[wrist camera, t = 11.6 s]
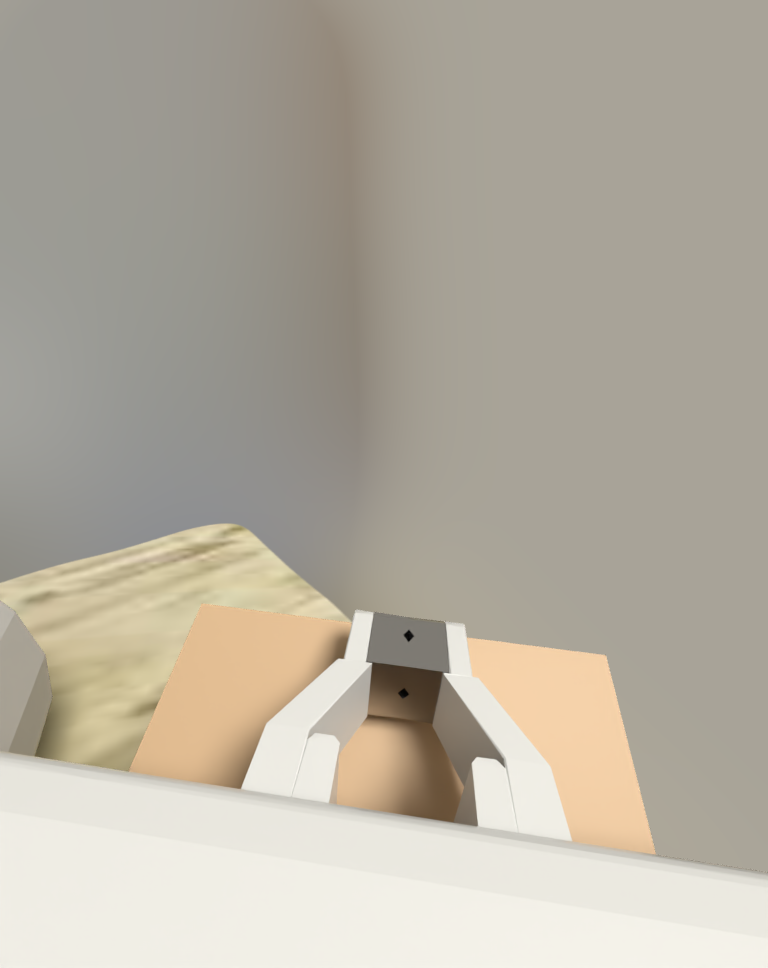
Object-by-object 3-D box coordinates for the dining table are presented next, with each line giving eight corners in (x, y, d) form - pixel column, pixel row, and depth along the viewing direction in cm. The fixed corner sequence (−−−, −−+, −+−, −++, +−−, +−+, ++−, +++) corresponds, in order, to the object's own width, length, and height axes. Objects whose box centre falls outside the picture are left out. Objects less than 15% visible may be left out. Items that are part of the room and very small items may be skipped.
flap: (902, 1837, 4) (605, 655, 10) (-211, 1547, 4) (201, 603, 11) (852, 1740, 4) (597, 659, 11) (-162, 1480, 5) (207, 609, 11)
